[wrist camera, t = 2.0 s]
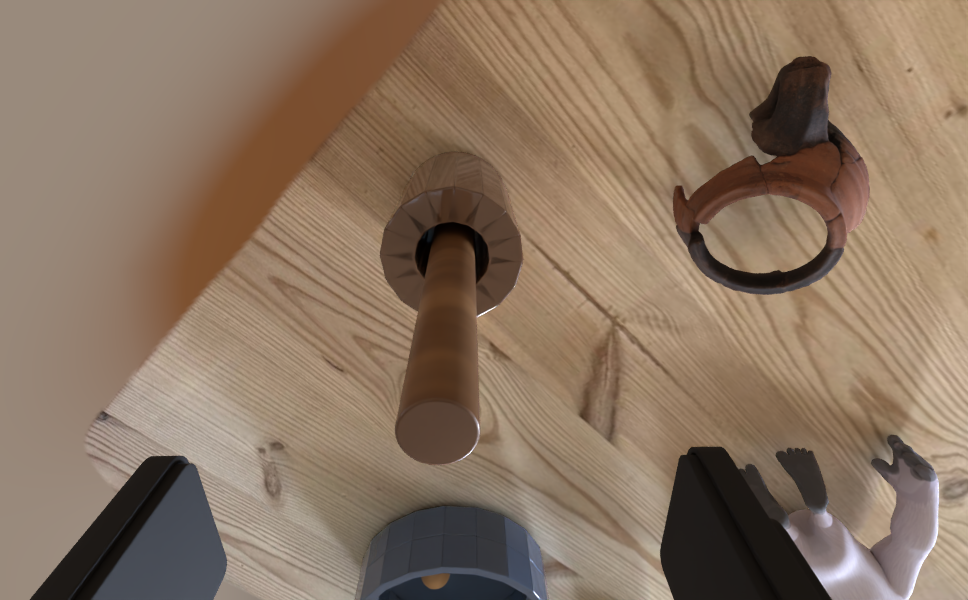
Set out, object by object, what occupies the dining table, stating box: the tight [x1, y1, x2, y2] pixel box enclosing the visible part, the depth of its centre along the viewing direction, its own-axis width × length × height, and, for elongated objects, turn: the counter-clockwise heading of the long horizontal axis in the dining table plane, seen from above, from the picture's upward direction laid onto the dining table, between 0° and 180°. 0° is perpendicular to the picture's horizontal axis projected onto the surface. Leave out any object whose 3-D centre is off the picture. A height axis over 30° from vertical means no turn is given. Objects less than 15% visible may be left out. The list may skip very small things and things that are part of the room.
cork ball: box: [421, 573, 450, 589], centre depth 42 cm, size 2×2×2 cm
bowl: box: [355, 506, 549, 600], centre depth 41 cm, size 15×15×6 cm
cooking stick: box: [395, 222, 480, 465], centre depth 21 cm, size 2×2×20 cm
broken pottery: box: [673, 56, 870, 295], centre depth 27 cm, size 12×10×8 cm
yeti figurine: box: [739, 435, 939, 600], centre depth 41 cm, size 20×7×20 cm
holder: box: [380, 152, 523, 317], centre depth 26 cm, size 6×6×9 cm
